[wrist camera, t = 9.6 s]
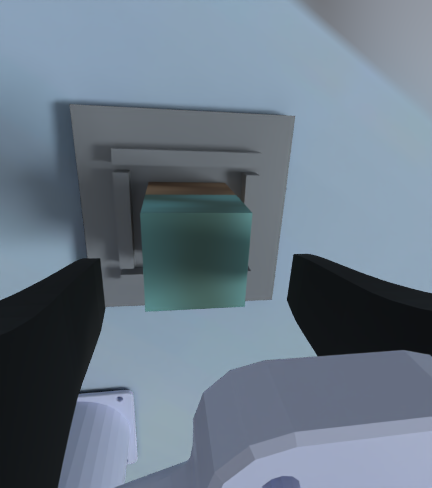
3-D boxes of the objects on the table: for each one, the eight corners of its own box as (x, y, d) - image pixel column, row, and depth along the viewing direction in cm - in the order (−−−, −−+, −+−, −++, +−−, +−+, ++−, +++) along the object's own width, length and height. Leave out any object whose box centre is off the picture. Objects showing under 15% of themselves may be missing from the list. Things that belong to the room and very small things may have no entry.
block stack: (151, 252, 19) (145, 311, 13) (148, 181, 18) (140, 213, 12) (221, 251, 20) (244, 306, 14) (224, 182, 18) (252, 212, 13)
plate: (96, 299, 21) (89, 316, 19) (74, 105, 17) (63, 103, 15) (267, 292, 23) (276, 307, 21) (288, 116, 18) (302, 115, 17)
